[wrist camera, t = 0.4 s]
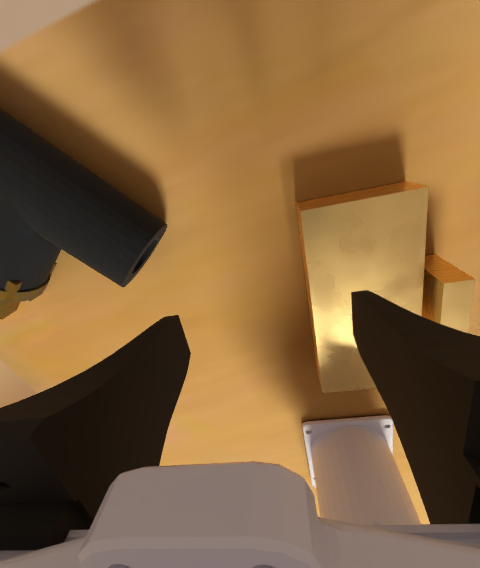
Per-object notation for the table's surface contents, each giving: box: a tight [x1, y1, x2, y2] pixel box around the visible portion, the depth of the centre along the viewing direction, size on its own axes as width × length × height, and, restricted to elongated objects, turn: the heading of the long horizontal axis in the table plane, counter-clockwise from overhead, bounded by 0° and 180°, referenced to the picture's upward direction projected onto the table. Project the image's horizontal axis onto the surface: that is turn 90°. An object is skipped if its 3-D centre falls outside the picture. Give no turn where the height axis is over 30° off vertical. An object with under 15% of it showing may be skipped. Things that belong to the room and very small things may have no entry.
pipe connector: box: [0, 109, 167, 320], centre depth 19 cm, size 12×5×15 cm
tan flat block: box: [296, 181, 475, 393], centre depth 19 cm, size 14×9×4 cm, turn 12°
